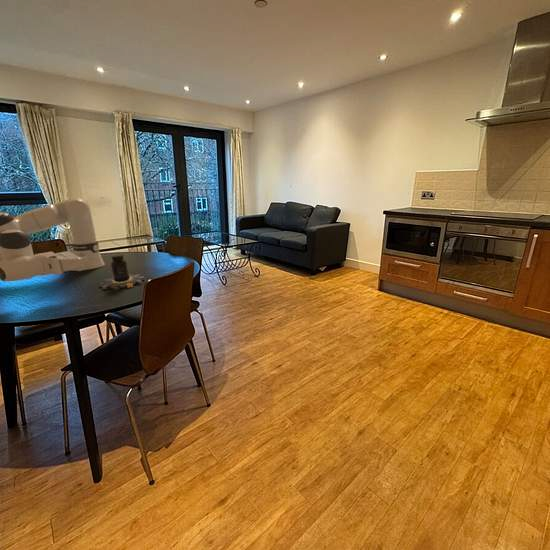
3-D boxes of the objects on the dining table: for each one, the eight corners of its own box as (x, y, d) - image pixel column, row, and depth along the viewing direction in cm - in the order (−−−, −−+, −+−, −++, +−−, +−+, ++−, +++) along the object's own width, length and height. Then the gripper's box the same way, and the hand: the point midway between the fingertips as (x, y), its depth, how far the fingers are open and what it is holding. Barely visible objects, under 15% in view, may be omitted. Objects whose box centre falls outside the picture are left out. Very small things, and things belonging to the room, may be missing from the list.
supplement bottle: (132, 277, 146) (128, 253, 142) (125, 281, 139) (121, 257, 136) (118, 277, 146) (113, 254, 142) (111, 282, 139) (106, 257, 136)
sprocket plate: (91, 289, 136) (90, 285, 135) (117, 276, 154) (116, 273, 153) (129, 290, 133) (128, 287, 133) (151, 277, 151) (151, 274, 150)
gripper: (46, 266, 128) (82, 259, 137) (58, 275, 114) (97, 267, 124) (42, 251, 126) (79, 245, 135) (54, 259, 112) (94, 252, 122)
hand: (88, 256), depth 129 cm, fingers open, 8 cm apart
